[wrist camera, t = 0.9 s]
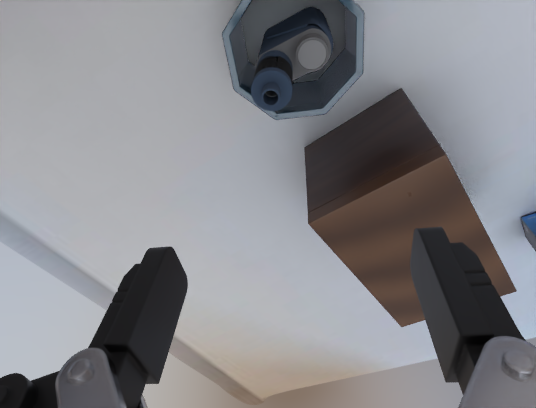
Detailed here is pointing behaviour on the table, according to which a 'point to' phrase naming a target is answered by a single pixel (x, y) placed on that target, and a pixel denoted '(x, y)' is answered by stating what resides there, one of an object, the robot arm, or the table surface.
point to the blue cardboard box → (530, 228)
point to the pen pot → (304, 93)
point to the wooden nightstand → (390, 201)
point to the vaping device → (290, 56)
